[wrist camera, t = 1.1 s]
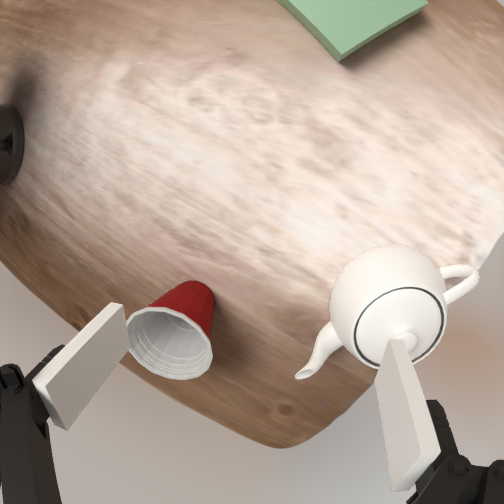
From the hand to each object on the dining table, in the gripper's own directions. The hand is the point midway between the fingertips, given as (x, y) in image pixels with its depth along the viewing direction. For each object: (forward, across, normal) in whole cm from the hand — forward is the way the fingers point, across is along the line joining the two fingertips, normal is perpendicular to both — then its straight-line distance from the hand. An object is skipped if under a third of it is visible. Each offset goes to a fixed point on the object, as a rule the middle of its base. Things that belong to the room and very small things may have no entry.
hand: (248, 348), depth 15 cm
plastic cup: (+26, -11, -13) cm, 31 cm away
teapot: (+26, +14, -9) cm, 31 cm away
